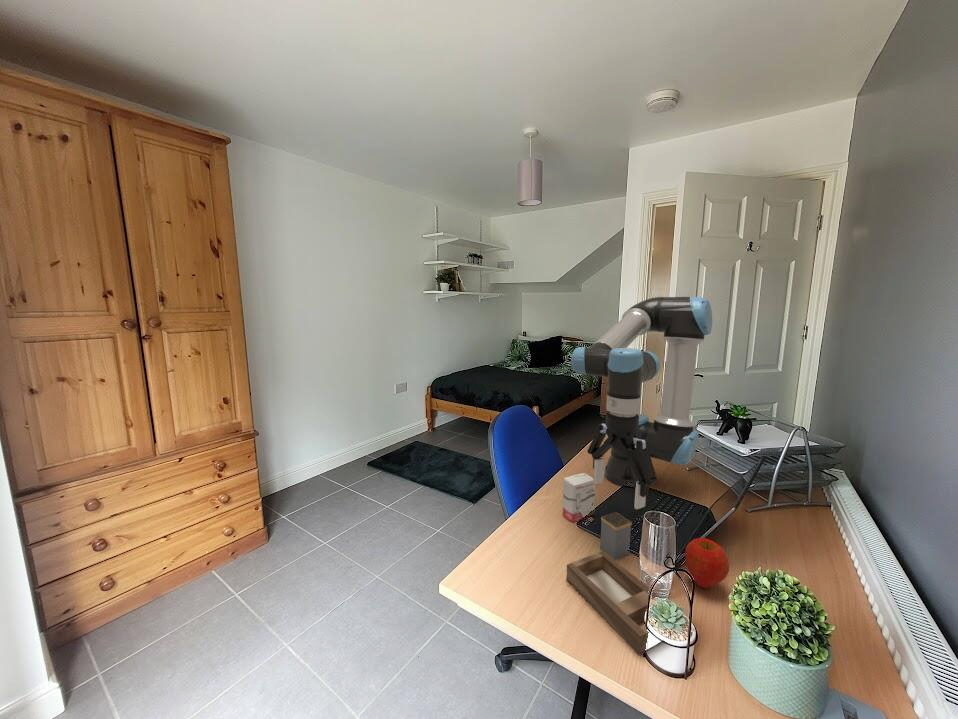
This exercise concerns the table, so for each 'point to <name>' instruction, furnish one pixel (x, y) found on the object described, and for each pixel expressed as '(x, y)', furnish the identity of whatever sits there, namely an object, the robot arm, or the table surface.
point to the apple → (706, 562)
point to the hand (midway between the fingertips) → (617, 494)
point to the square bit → (615, 535)
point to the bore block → (613, 595)
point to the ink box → (578, 496)
